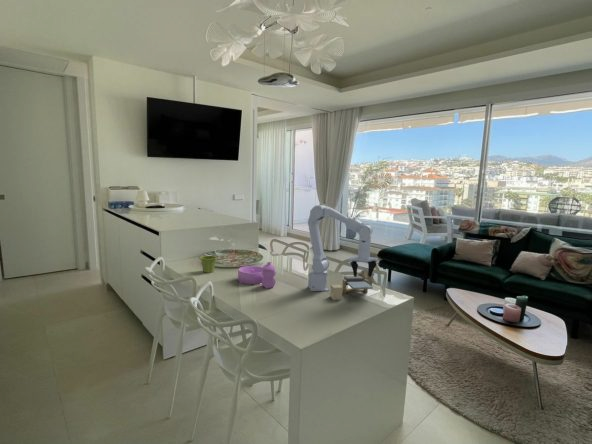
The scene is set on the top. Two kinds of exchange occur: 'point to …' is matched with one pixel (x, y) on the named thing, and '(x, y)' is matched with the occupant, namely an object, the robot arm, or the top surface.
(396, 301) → the top surface
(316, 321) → the top surface
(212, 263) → the plant pot
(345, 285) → the frame
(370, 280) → the rock
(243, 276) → the container set
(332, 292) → the block
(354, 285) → the trapdoor
